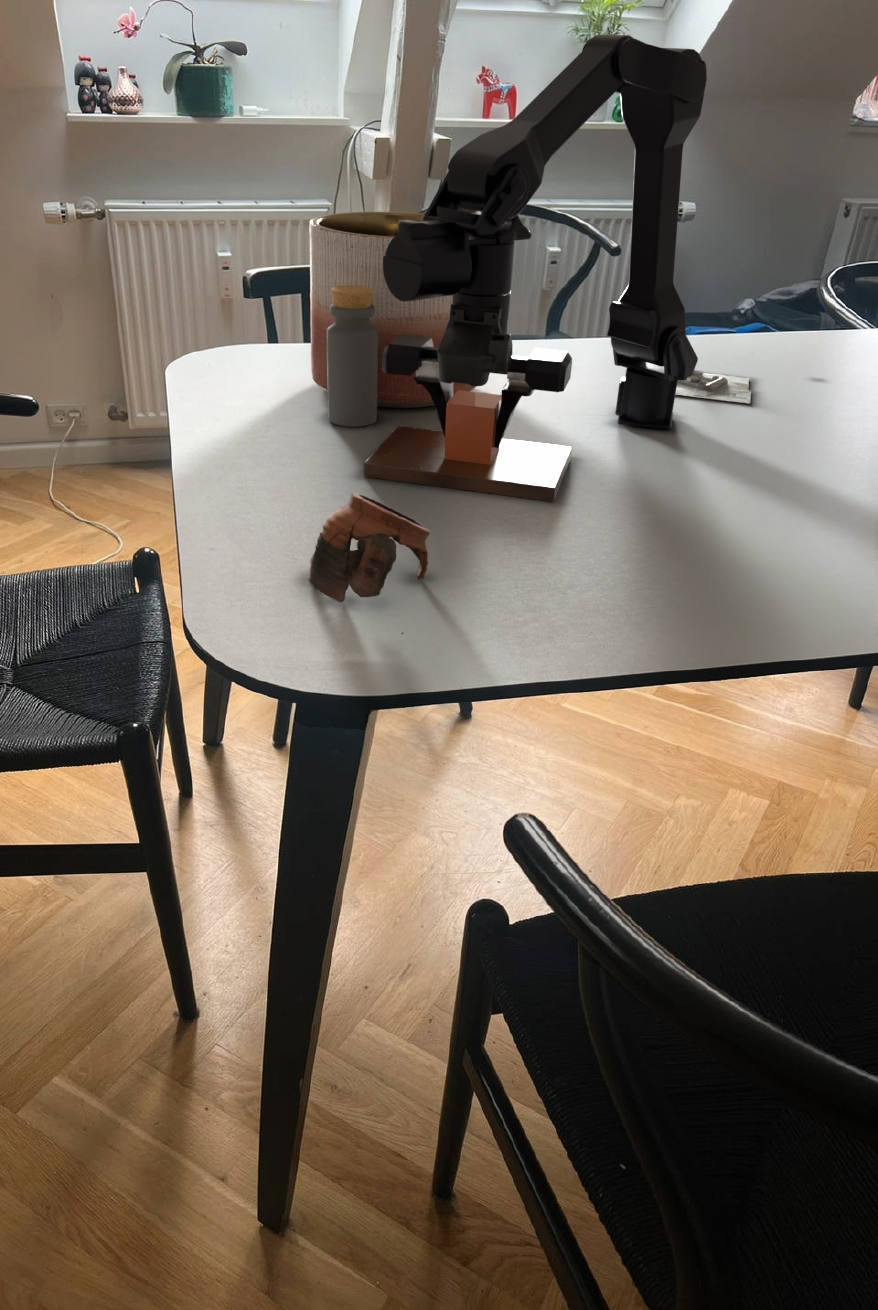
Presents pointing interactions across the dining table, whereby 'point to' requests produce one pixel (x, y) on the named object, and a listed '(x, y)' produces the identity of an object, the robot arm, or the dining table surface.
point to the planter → (355, 257)
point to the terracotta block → (471, 427)
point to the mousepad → (715, 387)
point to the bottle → (352, 358)
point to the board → (470, 465)
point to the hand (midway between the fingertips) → (472, 443)
